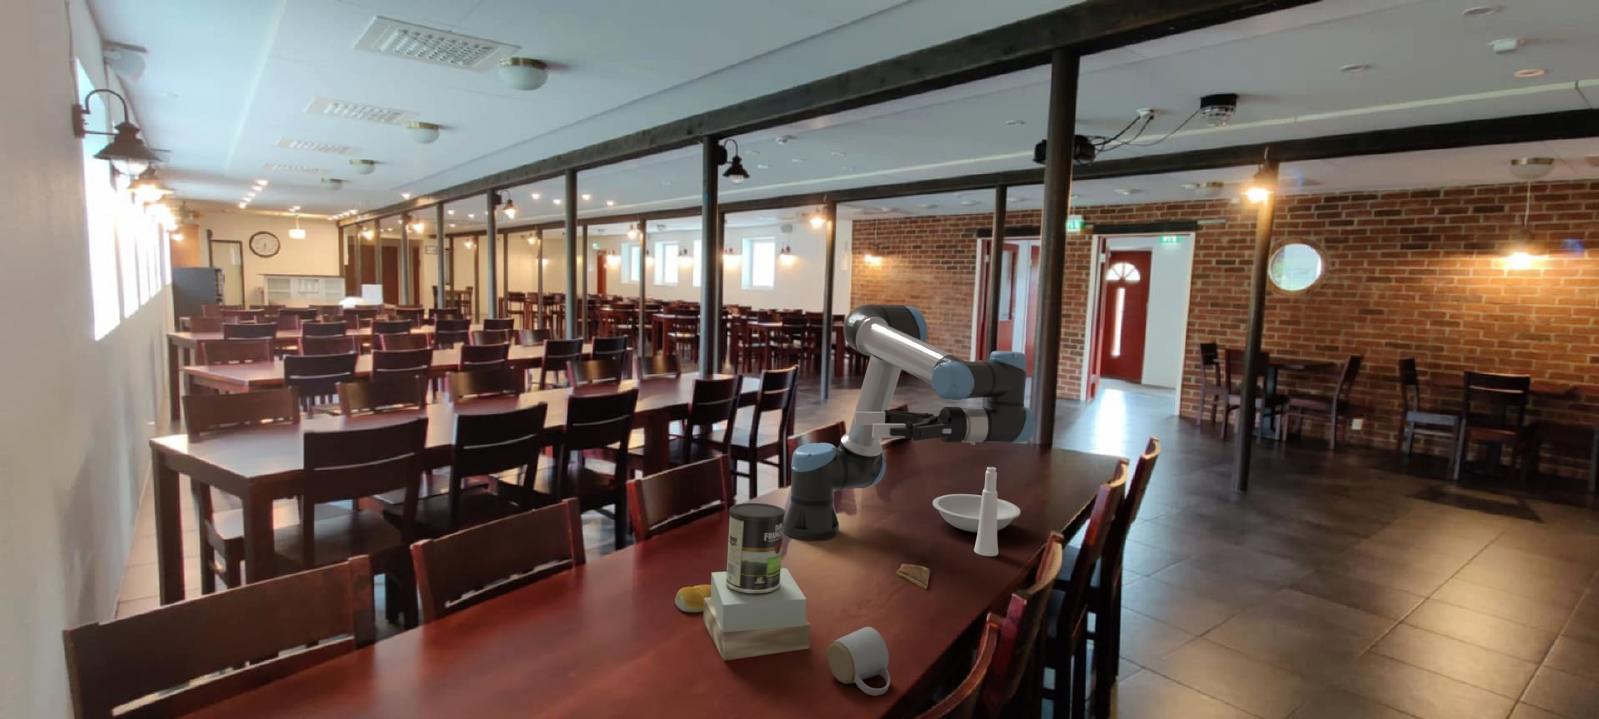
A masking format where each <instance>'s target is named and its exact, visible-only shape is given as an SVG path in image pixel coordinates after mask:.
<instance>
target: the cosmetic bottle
mask: <svg viewBox="0 0 1599 719" xmlns="http://www.w3.org/2000/svg"><path fill="white" fill-rule="evenodd" d="M997 476H998V473H997V468H996V467H993V466H989V467H988V466H987V467H986V471H985V478H984V479H985V480H984V488H983V490H982V492H981V494H982V495H981V496H982V501H981V510H980V519H979V527H978V532H977V535H976V540H975V545H974V549H973V551H974V553H976V554H977V555H979V556H983V557H996V556H998V554H999V547H998V531H997V499H998V491H997V479H998V478H997Z"/></svg>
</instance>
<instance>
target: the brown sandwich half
mask: <svg viewBox="0 0 1599 719" xmlns="http://www.w3.org/2000/svg"><path fill="white" fill-rule="evenodd" d="M930 573H931V571H930V568H927V567H925V566H922V565H915V564H911V563H909V564H908V563H902V564H901V566H900V568H899V569H897V570H896V571H895V574H896V576H899V577H901V578H904V579H906V580H907V581H909V582H910V583H913V584H914V583H915V585H916V586H918V587H921V588H923V589H925V590H927V589H928V587H929V579H930Z"/></svg>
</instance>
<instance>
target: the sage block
mask: <svg viewBox="0 0 1599 719" xmlns="http://www.w3.org/2000/svg"><path fill="white" fill-rule="evenodd" d="M726 576H727V571H715V572H711V580H710V581H711V583H710V585H711V599H712V602H713V605H714V608H715V611H716V614H717V617H718V620H719V623H720V626H721V629H722V633H725V632H737V631H749V630H761V629H773V628H785V627H797V626H805V618H806V615H807V613H806V612H807V611H806V610H807V598H806V596H805V595H804V593H803V591H802V590H801V589H800V587H799V586H798V583H797V582H796V581H795V579H794V577H793V576H792V575H791V573H790V571H789V570H788V568H787V567H781V571H780V586H779V588H777V589H776V590H774V591H771V592H767V593H744V592H739V591H736V590H733V589H731V588H729V587H728V586H727V585H726Z"/></svg>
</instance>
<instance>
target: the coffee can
mask: <svg viewBox="0 0 1599 719" xmlns="http://www.w3.org/2000/svg"><path fill="white" fill-rule="evenodd" d="M728 512H729V523H728V524H729V525H728V543H727V560H726V561H727V562H726V563H727V564H726V572H727V576H726V585H727V586H728V587H729V588H731V589H733V590H736V591H739V592H744V593H767V592H771V591H774V590H776V589H777V588H779V586H780V571H781V568H782V552H783V536H784V534H783V533H784V531H783V523H784V519H785V516H786V514H785V513H786V511H785V509H784V508H782V507H780V506H777V505H774V504H769V503H760V502H745V503H744V502H743V503H738V504H734V505H732V506H730V507H729V511H728Z"/></svg>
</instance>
